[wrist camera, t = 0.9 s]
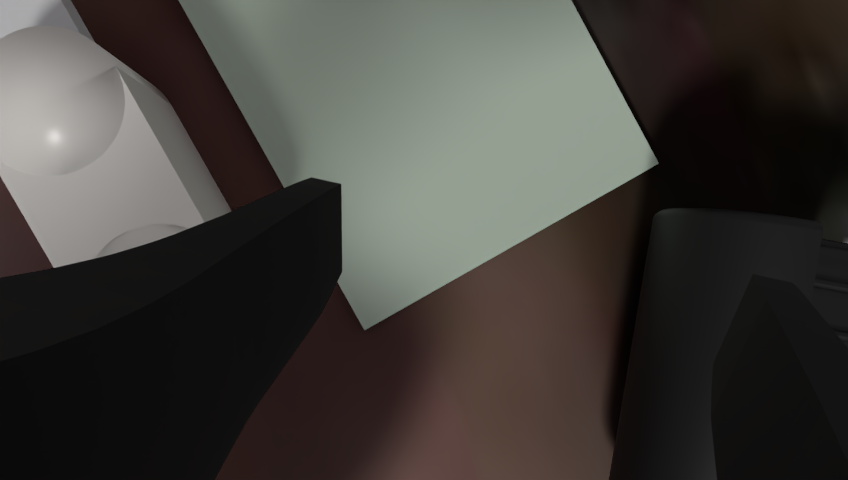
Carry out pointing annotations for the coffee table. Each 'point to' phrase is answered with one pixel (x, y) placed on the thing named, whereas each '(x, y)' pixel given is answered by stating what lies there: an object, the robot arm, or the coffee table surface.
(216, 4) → the mat
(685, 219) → the end cap
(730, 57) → the coffee table surface
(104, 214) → the connector
